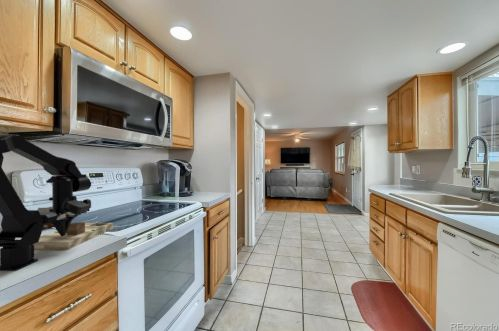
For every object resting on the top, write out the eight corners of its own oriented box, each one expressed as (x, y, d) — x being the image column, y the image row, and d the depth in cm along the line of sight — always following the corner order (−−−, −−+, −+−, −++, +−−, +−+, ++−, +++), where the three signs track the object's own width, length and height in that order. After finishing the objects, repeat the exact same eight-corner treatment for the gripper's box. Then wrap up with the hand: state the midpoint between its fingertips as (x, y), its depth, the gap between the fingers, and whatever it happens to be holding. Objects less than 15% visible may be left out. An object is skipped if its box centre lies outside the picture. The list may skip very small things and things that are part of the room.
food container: (47, 230, 95) (47, 208, 95) (36, 229, 97) (36, 207, 97) (74, 223, 108) (74, 203, 107) (65, 222, 109) (65, 202, 109)
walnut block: (76, 235, 83) (76, 225, 82) (66, 235, 83) (66, 225, 83) (85, 232, 87) (85, 222, 86) (75, 231, 87) (75, 222, 87)
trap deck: (68, 249, 76) (68, 240, 75) (24, 248, 76) (24, 240, 76) (113, 228, 99) (113, 222, 99) (79, 227, 100) (79, 221, 100)
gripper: (61, 198, 69) (61, 246, 69) (102, 190, 88) (102, 228, 88) (27, 198, 69) (28, 245, 70) (75, 190, 88) (76, 227, 88)
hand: (63, 235), depth 79 cm, fingers closed
